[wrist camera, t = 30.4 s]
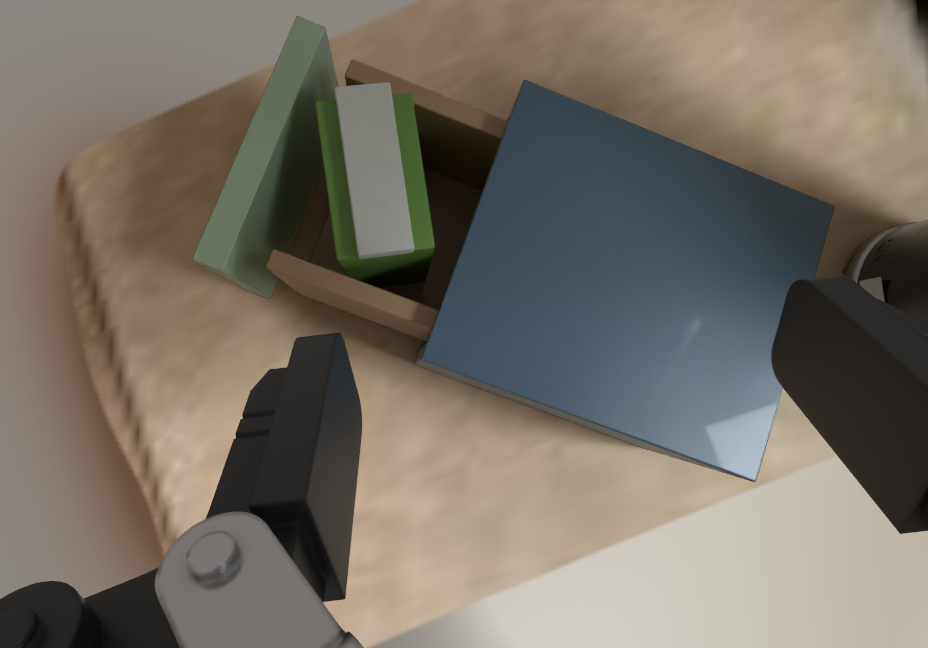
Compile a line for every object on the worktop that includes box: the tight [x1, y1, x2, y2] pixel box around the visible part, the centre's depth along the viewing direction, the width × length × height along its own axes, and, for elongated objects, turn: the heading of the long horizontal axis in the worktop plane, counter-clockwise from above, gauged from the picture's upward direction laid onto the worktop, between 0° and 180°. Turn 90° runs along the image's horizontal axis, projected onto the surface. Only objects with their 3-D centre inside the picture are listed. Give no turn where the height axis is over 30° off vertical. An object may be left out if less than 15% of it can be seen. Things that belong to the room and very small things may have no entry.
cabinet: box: [415, 80, 834, 482], centre depth 27 cm, size 14×12×10 cm
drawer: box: [192, 16, 508, 341], centre depth 26 cm, size 14×10×8 cm
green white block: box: [315, 82, 435, 288], centre depth 24 cm, size 4×6×8 cm, turn 9°
